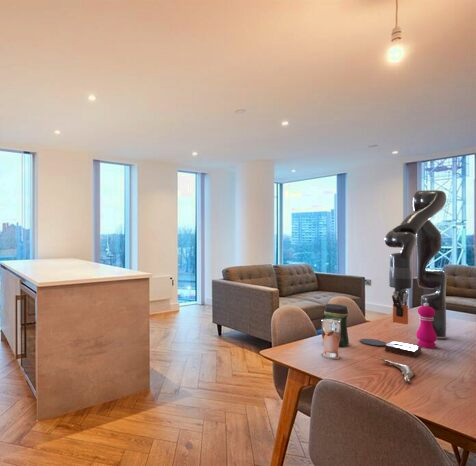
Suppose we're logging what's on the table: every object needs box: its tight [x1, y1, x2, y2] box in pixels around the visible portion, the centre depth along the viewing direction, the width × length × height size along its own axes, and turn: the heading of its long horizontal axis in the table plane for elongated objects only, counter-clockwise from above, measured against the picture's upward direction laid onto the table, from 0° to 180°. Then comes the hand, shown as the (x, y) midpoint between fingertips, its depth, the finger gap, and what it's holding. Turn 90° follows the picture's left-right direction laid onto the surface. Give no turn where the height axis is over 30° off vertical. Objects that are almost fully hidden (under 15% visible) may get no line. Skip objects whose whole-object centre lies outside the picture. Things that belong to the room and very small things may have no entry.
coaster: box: [360, 338, 388, 348], centre depth 158 cm, size 10×10×1 cm
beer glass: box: [321, 318, 341, 360], centre depth 141 cm, size 7×7×15 cm
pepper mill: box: [415, 303, 438, 349], centre depth 154 cm, size 7×7×20 cm
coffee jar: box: [323, 303, 350, 347], centre depth 158 cm, size 10×8×19 cm
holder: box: [384, 340, 422, 358], centre depth 147 cm, size 10×10×2 cm
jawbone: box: [376, 357, 415, 384], centre depth 123 cm, size 9×20×2 cm, turn 168°
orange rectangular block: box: [392, 303, 409, 325], centre depth 148 cm, size 2×5×8 cm, turn 36°
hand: (400, 315), depth 148 cm, fingers closed on orange rectangular block, 1 cm apart
